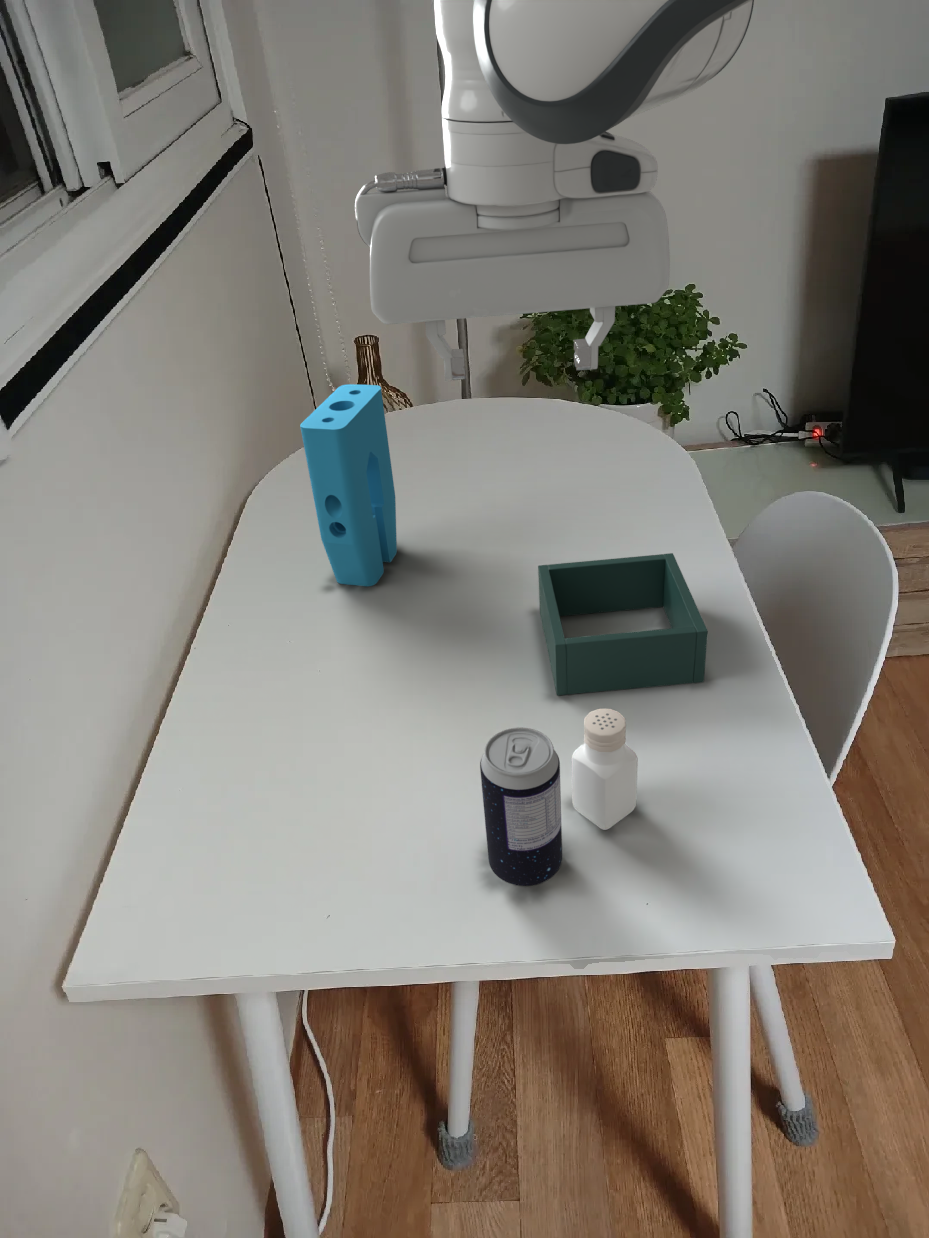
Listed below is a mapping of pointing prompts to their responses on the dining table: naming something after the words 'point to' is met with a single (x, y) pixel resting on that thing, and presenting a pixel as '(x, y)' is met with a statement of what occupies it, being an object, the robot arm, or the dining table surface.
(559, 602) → the bin
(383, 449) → the block
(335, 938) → the dining table surface
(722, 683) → the dining table surface
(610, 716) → the salt shaker
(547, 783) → the beverage can
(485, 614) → the dining table surface
